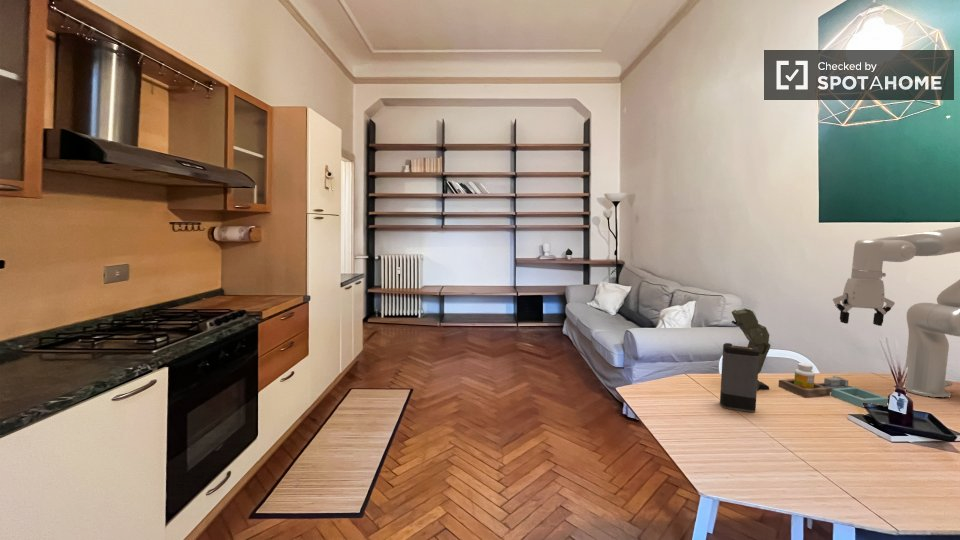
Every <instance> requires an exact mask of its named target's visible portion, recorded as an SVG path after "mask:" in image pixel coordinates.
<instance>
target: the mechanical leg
mask: <svg viewBox="0 0 960 540" xmlns="http://www.w3.org/2000/svg"><path fill="white" fill-rule="evenodd" d="M731 314H732V316H733V319H734V320H732V321H731V324H733V325H734V326H737V327H738V328H739V329H740V330H741V331H742V332H743V334H744V336H745V338H746V339H747V340H748V344H747V346H748V345H751V346H755V347H757V348H758V349H759V367H758V375H759V374H760V373H761V372H762V368H763V366H764V363H765V360H766V358H767V356H768V353H769V350H770V349H771V344H770V343H769V342H770V333H769V331H768V329H767V327H766V326H765V325H764V326H763V325H762V324H760V323H759V320H758V319H757V317H756V315H755V313H754V311H752V310H751V309H750V308H749V309H748V308H745V307H744V308H743V309H734V310H732V311H731ZM757 390H758V391H759V390H761V391H763V390H766V391H767V390H768V391H769V390H770V386H769V385H767V384H765V383H764V382H763V381H760V380H758V382H757Z"/></svg>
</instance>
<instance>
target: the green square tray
mask: <svg viewBox="0 0 960 540" xmlns="http://www.w3.org/2000/svg"><path fill="white" fill-rule="evenodd" d="M830 397H833V398H836V399H839V400H841V401H844V402H846V403H848V404H852V405H854V406H856V407H859V408H862V409H864V408H863V403H872V404H879V405H887V403H888V399H889V400H890V397H889V398H888V397H886V396H883V395H879V394H877V393H874V392H872V391H868V390H865V389H862V388H860V387H858V386H857V387H856V386H852V387H848V388H834V389H831V392H830Z"/></svg>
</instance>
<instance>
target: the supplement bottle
mask: <svg viewBox="0 0 960 540" xmlns="http://www.w3.org/2000/svg"><path fill="white" fill-rule="evenodd" d="M813 367H814V366H813V365H812V364H810V363H807V362H806V363H805V362H798V363H797V368H796V369H795V370H794V378H793V379H794V384H795V385H797V386H800V387H802V388H805V389H806V388H814V383H815V372H814V371H813Z"/></svg>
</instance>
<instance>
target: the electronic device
mask: <svg viewBox="0 0 960 540" xmlns="http://www.w3.org/2000/svg"><path fill="white" fill-rule="evenodd" d="M758 367H759V349H758V348H757V347H755V346H751V345H748V344H747V346H743V345H742V346H740V345H733V343H730V342H728V343H727V342H726V343H724V344H723V345H722V360H721V377H720V379H721V380H720V396H719V397H720V398H719V403H720V406H721V407H722V408H724V407H725V408H724V409H727V408H729V409H728V410H733V409H735V410H734V411H739V410H740V411H739V412H746V413H754V412H756V410H757V409H756V408H757V395H758V394H757V392H758V391H757V382H758V381H759V380H758V379H759V374H758Z"/></svg>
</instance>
